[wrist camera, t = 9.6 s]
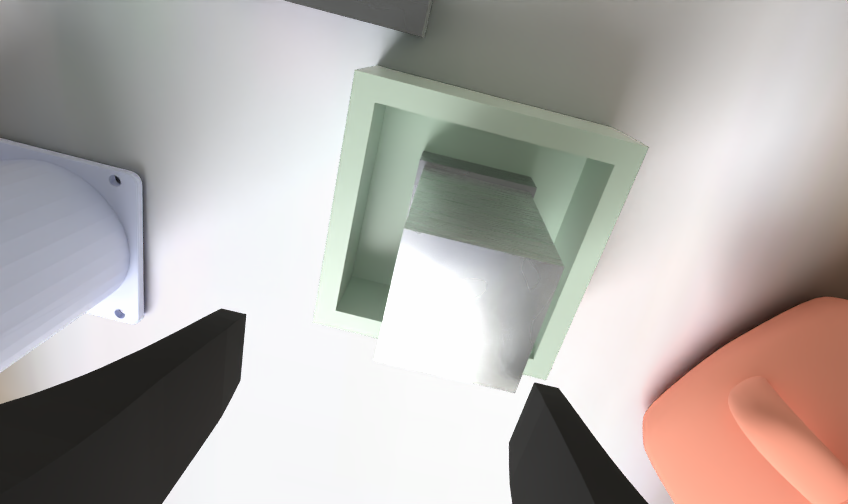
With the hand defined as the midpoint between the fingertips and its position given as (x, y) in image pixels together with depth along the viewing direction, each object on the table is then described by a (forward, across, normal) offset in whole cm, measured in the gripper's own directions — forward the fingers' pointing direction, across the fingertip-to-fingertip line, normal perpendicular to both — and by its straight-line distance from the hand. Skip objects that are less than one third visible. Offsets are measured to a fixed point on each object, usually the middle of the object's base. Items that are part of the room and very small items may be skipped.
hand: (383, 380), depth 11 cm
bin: (+10, -2, -2) cm, 11 cm away
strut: (+9, -2, -2) cm, 10 cm away
